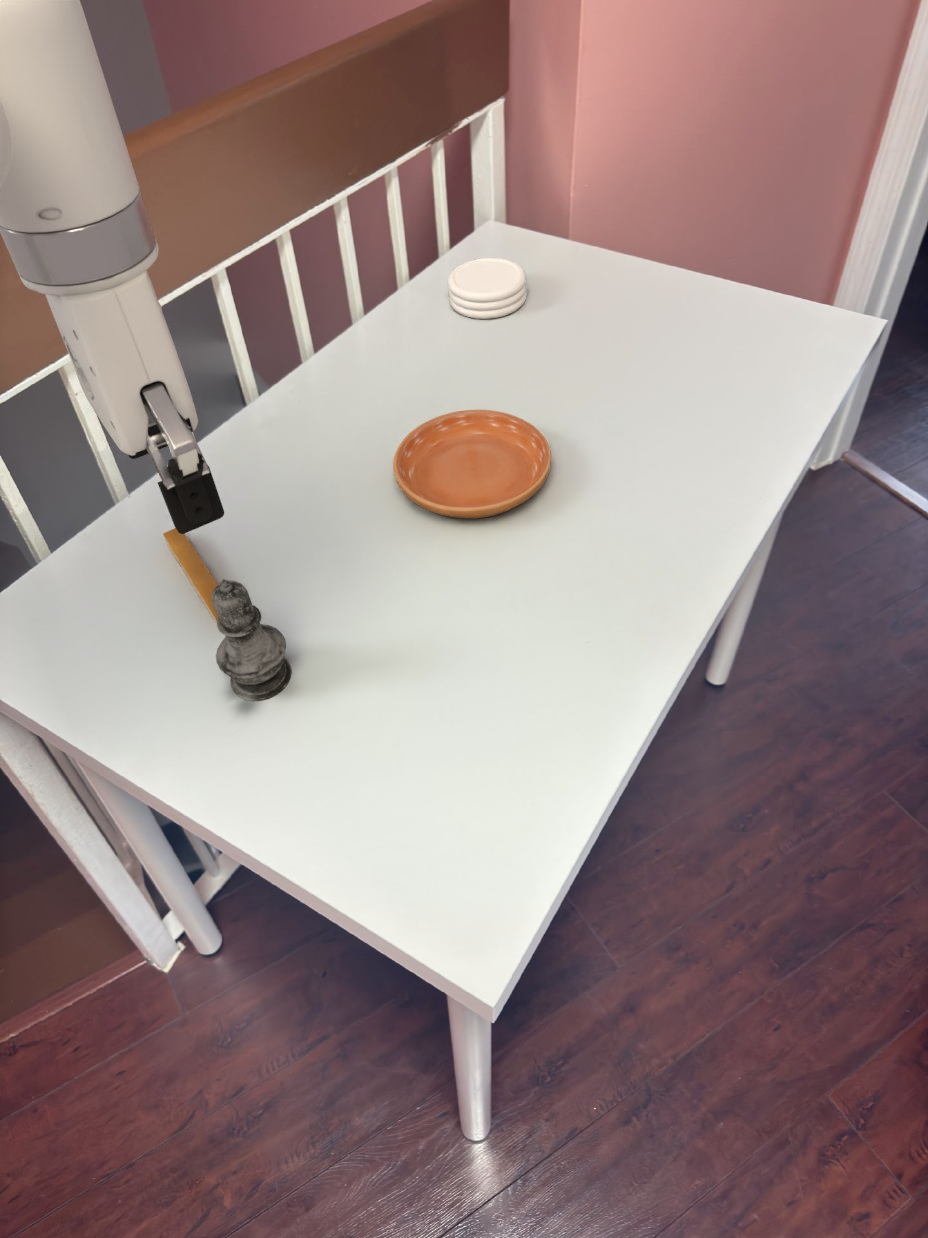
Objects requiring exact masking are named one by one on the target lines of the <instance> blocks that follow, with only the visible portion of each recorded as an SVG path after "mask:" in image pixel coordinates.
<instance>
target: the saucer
mask: <svg viewBox="0 0 928 1238" xmlns="http://www.w3.org/2000/svg"><path fill="white" fill-rule="evenodd" d="M550 447H551V446H550V444H549V442H548V440H547V438H546V437H545V435H543V433H542V432H541V431H540V430H539V429H538V428H537V427H535V426H534V425H533V424H532V423H530V422H529V421H526V420H524V419H523V418H521V417H518V416H516V415H513V414H511V413H507V412H504V411H498V410H491V409H466V410H465V409H464V410H458V411H452V412H448V413H444V414H442V415H439V416H435V417H433V418H431V419H429V420H427V421H424V423H422V424H420V425H418V426H417V427H415V428H414V429H413V430H412V431H410V432H409V433H408V434H407V435H406V436H405V437H404V438H403V439H402V441H401V442H400V444H399V445H398V447H397V449H396V451H395V453H394V457H393V468H392V469H393V473H394V477H395V479H396V482H397V484H398V487H399V489H400V490H401V491H402V493H403V494H404V495H405V496H406V497H407V498H408V500H410V501H411V502H413V503H414V504H416V505H417V506H419V507H421V508H423V509H425V510H427V511H430V512H432V513H435V514H437V515H440V516H445V517H450V518H456V519H481V518H488V517H494V516H497V515H499V514H503V513H504V512H508V511H510V510H512V509H514V508H516V507H518V506H519V505H521V504H523V503H524V502H526V501H528V500H529V499H531V498H532V496H534V495H535V494H536V493H537V492H538V491H539V490H540V489H541V488H542V486H543V485H544V484H545V482H546V480H547V479H548V475H549V473H550V468H551V464H552V451H551V448H550Z"/></svg>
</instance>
